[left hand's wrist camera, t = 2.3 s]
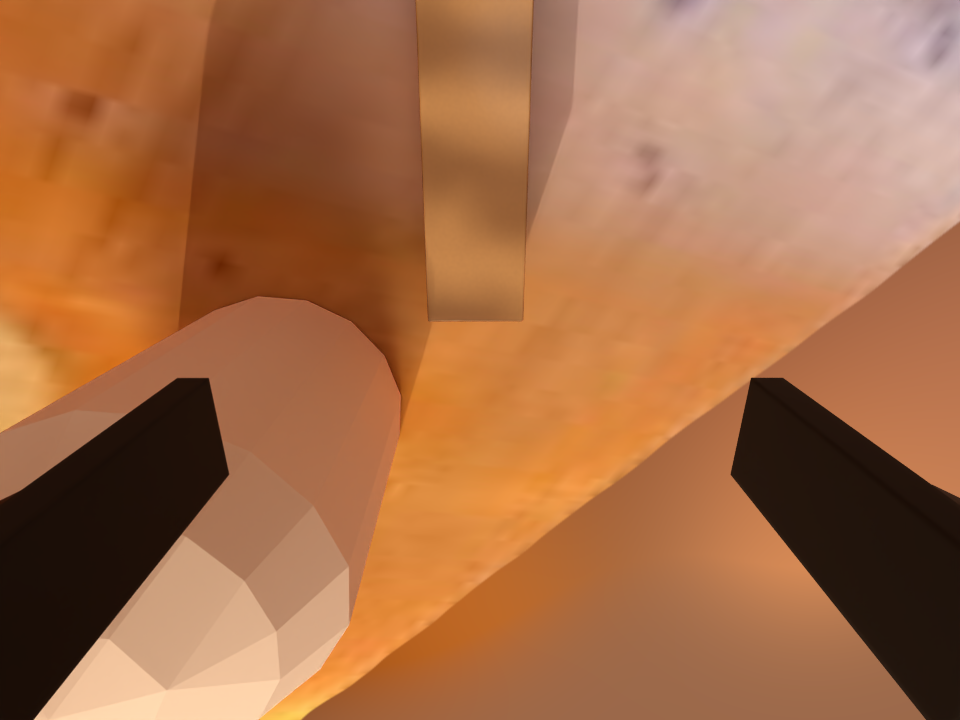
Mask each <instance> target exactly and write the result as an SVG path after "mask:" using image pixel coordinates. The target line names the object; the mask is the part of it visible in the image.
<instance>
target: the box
mask: <svg viewBox="0 0 960 720" xmlns="http://www.w3.org/2000/svg"><path fill="white" fill-rule="evenodd" d="M533 4H534V0H416V25H417V51H418V76H419V102H420V128H421V153H422V179H423V204H424V230H425V256H426V281H427V307H428V321H523V311H524V280H525V249H526V219H527V188H528V157H529V127H530V96H531V65H532V34H533Z"/></svg>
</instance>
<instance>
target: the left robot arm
mask: <svg viewBox="0 0 960 720" xmlns="http://www.w3.org/2000/svg"><path fill="white" fill-rule="evenodd" d="M228 476H229V470H228V466H227V461H226V456H225V451H224V447H223V442H222V437H221V433H220V428H219V423H218V419H217V414H216V409H215V404H214V400H213V395H212V390H211V386H210V381H209V378H176V379H175V380H174V381H172V382H171V383H169V384H168V385H167V386H165V387H164V388H162V389H161V390H160V391H158V392H157V393H155V394H154V395H153V396H151V397H150V398H149V399H147V400H146V401H144V402H143V403H142V404H140V405H139V406H137V407H136V408H135V409H133V410H132V411H130V412H129V413H128V414H126V415H125V416H123V417H122V418H121V419H119V420H118V421H117V422H115V423H114V424H112V425H111V426H110V427H108V428H107V429H105V430H104V431H103V432H101V433H100V434H98V435H97V436H96V437H94V438H93V439H91V440H90V441H89V442H87V443H86V444H85V445H83V446H82V447H80V448H79V449H78V450H76V451H75V452H73V453H72V454H71V455H69V456H68V457H66V458H65V459H64V460H62V461H61V462H59V463H58V464H57V465H55V466H54V467H52V468H51V469H50V470H48V471H47V472H46V473H44V474H43V475H41V476H40V477H39V478H37V479H36V480H34V481H33V482H32V483H30V484H29V485H27V486H26V487H25V488H23V489H22V490H20V491H18V492H16V493H14V494H12V495H10V496H8V497H6V498H4V499H2V500H0V720H34V719H35V718H36V716H37V715H38V714H39V713H40V711H41V710H42V709H43V708H44V706H45V705H46V704H47V703H48V701H49V700H50V699H51V698H52V696H53V695H54V694H55V693H56V691H57V690H58V689H59V688H60V686H61V685H62V684H63V683H64V681H65V680H66V679H67V678H68V676H69V675H70V674H71V672H72V671H73V670H74V669H75V667H76V666H77V665H78V664H79V662H80V661H81V660H82V659H83V657H84V656H85V655H86V654H87V652H88V651H89V650H90V649H91V647H92V646H93V645H94V644H95V642H96V641H97V640H98V639H99V637H100V636H101V635H102V634H103V632H104V631H105V630H106V629H107V627H108V626H109V625H110V624H111V622H112V621H113V620H114V619H115V617H116V616H117V615H118V614H119V612H120V611H121V610H122V609H123V607H124V606H125V605H126V604H127V602H128V601H129V600H130V599H131V597H132V596H133V595H134V594H135V592H136V591H137V590H138V588H139V587H140V586H141V585H142V583H143V582H144V581H145V580H146V578H147V577H148V576H149V575H150V573H151V572H152V571H153V570H154V568H155V567H156V566H157V565H158V563H159V562H160V561H161V560H162V558H163V557H164V556H165V555H166V553H167V552H168V551H169V550H170V548H171V547H172V546H173V545H174V543H175V542H176V541H177V540H178V538H179V537H180V536H181V535H182V533H183V532H184V531H185V530H186V528H187V527H188V526H189V525H190V523H191V522H192V521H193V520H194V518H195V517H196V516H197V515H198V513H199V512H200V511H201V509H202V508H203V507H204V506H205V504H206V503H207V502H208V501H209V499H210V498H211V497H212V496H213V494H214V493H215V492H216V491H217V489H218V488H219V487H220V486H221V484H222V483H223V482H224V481H225V479H226V478H227V477H228ZM731 476H732V477H733V478H734V479H735V481H736V482H737V483H738V484H739V486H740V487H741V488H742V489H743V491H744V492H745V493H746V494H747V496H748V497H749V498H750V499H751V501H752V502H753V503H754V504H755V506H756V507H757V508H758V509H759V511H760V512H761V513H762V515H763V516H764V517H765V518H766V520H767V521H768V522H769V523H770V525H771V526H772V527H773V528H774V530H775V531H776V532H777V533H778V535H779V536H780V537H781V538H782V540H783V541H784V542H785V543H786V545H787V546H788V547H789V548H790V550H791V551H792V552H793V553H794V555H795V556H796V557H797V558H798V560H799V561H800V562H801V563H802V565H803V566H804V567H805V568H806V570H807V571H808V572H809V573H810V575H811V576H812V577H813V578H814V580H815V581H816V582H817V583H818V585H819V586H820V587H821V588H822V590H823V591H824V592H825V593H826V595H827V596H828V597H829V598H830V600H831V601H832V602H833V603H834V605H835V606H836V607H837V608H838V610H839V611H840V612H841V614H842V615H843V616H844V617H845V619H846V620H847V621H848V622H849V624H850V625H851V626H852V627H853V629H854V630H855V631H856V632H857V634H858V635H859V636H860V637H861V639H862V640H863V641H864V642H865V644H866V645H867V646H868V647H869V649H870V650H871V651H872V652H873V654H874V655H875V656H876V657H877V659H878V660H879V661H880V662H881V664H882V665H883V666H884V667H885V669H886V670H887V671H888V672H889V674H890V675H891V676H892V678H893V679H894V680H895V681H896V683H897V684H898V685H899V686H900V688H901V689H902V690H903V691H904V692H905V694H906V695H907V696H908V698H909V699H910V700H911V701H912V703H913V704H914V705H915V706H916V708H917V709H918V710H919V711H920V713H921V714H922V715H923V716H924V718H925V719H926V720H960V498H959V497H957V496H955V495H952V494H950V493H948V492H946V491H944V490H942V489H940V488H938V487H936V486H934V485H931V484H930V483H928V482H927V481H926V480H924V479H923V478H921V477H920V476H919V475H917V474H916V473H914V472H913V471H912V470H910V469H909V468H908V467H906V466H905V465H903V464H902V463H901V462H899V461H898V460H896V459H895V458H893V457H892V456H891V455H889V454H888V453H887V452H885V451H884V450H882V449H881V448H880V447H878V446H877V445H875V444H874V443H873V442H871V441H870V440H869V439H867V438H866V437H864V436H863V435H862V434H860V433H859V432H857V431H856V430H855V429H853V428H852V427H850V426H849V425H848V424H846V423H845V422H843V421H842V420H841V419H839V418H838V417H837V416H835V415H834V414H832V413H831V412H830V411H828V410H827V409H825V408H824V407H823V406H821V405H820V404H818V403H817V402H816V401H814V400H813V399H811V398H810V397H809V396H807V395H806V394H805V393H803V392H802V391H800V390H799V389H798V388H796V387H795V386H793V385H792V384H791V383H789V382H788V381H786V380H785V379H784V378H751V381H750V386H749V390H748V395H747V400H746V404H745V409H744V414H743V419H742V423H741V428H740V433H739V437H738V442H737V447H736V451H735V456H734V461H733V466H732V470H731Z"/></svg>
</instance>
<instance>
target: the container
mask: <svg viewBox="0 0 960 720" xmlns="http://www.w3.org/2000/svg"><path fill="white" fill-rule="evenodd" d="M176 378H209V381H210V386H211V390H212V395H213V400H214V404H215V409H216V414H217V419H218V423H219V428H220V433H221V437H222V442H223V447H224V451H225V456H226V461H227V466H228V470H229V476H228V477H227V478H226V479H225V481H224V482H223V483H222V484H221V486H220V487H219V488H218V489H217V491H216V492H215V493H214V494H213V496H212V497H211V498H210V499H209V501H208V502H207V503H206V504H205V506H204V507H203V508H202V509H201V511H200V512H199V513H198V515H197V516H196V517H195V518H194V520H193V521H192V522H191V523H190V525H189V526H188V527H187V528H186V530H185V531H184V532H183V533H182V535H181V536H180V537H179V538H178V540H177V541H176V542H175V543H174V545H173V546H172V547H171V548H170V550H169V551H168V552H167V553H166V555H165V556H164V557H163V558H162V560H161V561H160V562H159V563H158V565H157V566H156V567H155V568H154V570H153V571H152V572H151V573H150V575H149V576H148V577H147V578H146V580H145V581H144V582H143V583H142V585H141V586H140V587H139V588H138V590H137V591H136V592H135V594H134V595H133V596H132V597H131V599H130V600H129V601H128V602H127V604H126V605H125V606H124V607H123V609H122V610H121V611H120V612H119V614H118V615H117V616H116V617H115V619H114V620H113V621H112V622H111V624H110V625H109V626H108V627H107V629H106V630H105V631H104V632H103V634H102V635H101V636H100V637H99V639H98V640H97V641H96V642H95V644H94V645H93V646H92V647H91V649H90V650H89V651H88V652H87V654H86V655H85V656H84V657H83V659H82V660H81V661H80V662H79V664H78V665H77V666H76V667H75V669H74V670H73V671H72V672H71V674H70V675H69V676H68V678H67V679H66V680H65V681H64V683H63V684H62V685H61V686H60V688H59V689H58V690H57V691H56V693H55V694H54V695H53V696H52V698H51V699H50V700H49V701H48V703H47V704H46V705H45V706H44V708H43V709H42V710H41V711H40V713H39V714H38V715H37V716H36V718H35V719H34V720H258V719H259V718H261V717H262V716H263V715H264V714H266V713H267V712H268V711H269V710H271V709H272V708H273V707H274V706H276V705H277V704H278V703H279V702H280V701H282V700H283V699H284V698H285V697H287V696H288V695H289V694H290V693H292V692H293V691H294V690H295V689H296V688H298V687H299V686H300V685H301V684H303V683H304V682H305V681H306V680H308V679H309V678H310V677H311V676H313V675H314V674H315V673H316V672H317V671H319V670H320V669H321V667H322V666H323V664H324V662H325V661H326V659H327V658H328V656H329V655H330V653H331V652H332V650H333V649H334V647H335V646H336V644H337V642H338V641H339V639H340V638H341V636H342V635H343V633H344V632H345V630H346V629H347V627H348V626H349V623H350V620H351V616H352V612H353V608H354V605H355V601H356V597H357V593H358V590H359V586H360V582H361V578H362V574H363V571H364V567H365V563H366V559H367V556H368V552H369V548H370V544H371V540H372V537H373V533H374V529H375V525H376V522H377V518H378V514H379V510H380V506H381V503H382V499H383V495H384V491H385V488H386V484H387V480H388V476H389V473H390V469H391V465H392V461H393V457H394V454H395V450H396V446H397V442H398V439H399V435H400V407H401V394H400V392H399V390H398V387H397V385H396V382H395V380H394V377H393V375H392V373H391V370H390V368H389V365H388V363H387V360H386V358H385V356H384V354H383V353H382V352H381V351H380V350H379V349H378V348H377V347H376V346H375V345H374V344H373V343H372V342H371V341H370V340H369V339H368V338H367V337H366V336H365V335H364V334H363V333H362V332H361V331H360V330H359V329H358V328H357V327H356V326H355V325H354V324H353V323H352V322H351V321H349V320H347V319H345V318H343V317H341V316H339V315H336V314H334V313H332V312H330V311H328V310H326V309H324V308H322V307H320V306H318V305H315V304H313V303H311V302H309V301H307V300H297V299H285V298H273V297H261V296H257V297H254V298H251V299H248V300H245V301H241V302H238V303H235V304H232V305H229V306H226V307H223V308H220V309H217V310H214V311H212V312H210V313H209V314H207V315H205V316H203V317H202V318H200V319H198V320H196V321H195V322H193V323H191V324H190V325H188V326H186V327H184V328H183V329H181V330H179V331H177V332H176V333H174V334H172V335H170V336H169V337H167V338H165V339H163V340H162V341H160V342H158V343H156V344H155V345H153V346H151V347H149V348H148V349H146V350H144V351H142V352H141V353H139V354H137V355H135V356H134V357H132V358H130V359H128V360H127V361H125V362H123V363H122V364H120V365H118V366H116V367H115V368H113V369H111V370H109V371H108V372H106V373H104V374H102V375H101V376H99V377H97V378H95V379H94V380H92V381H90V382H88V383H87V384H85V385H83V386H81V387H80V388H78V389H76V390H74V391H73V392H71V393H69V394H67V395H66V396H64V397H62V398H60V399H59V400H57V401H55V402H53V403H52V404H50V405H48V406H47V407H45V408H43V409H41V410H40V411H38V412H36V413H34V414H33V415H31V416H29V417H27V418H26V419H24V420H22V421H20V422H19V423H17V424H15V425H13V426H12V427H10V428H8V429H6V430H5V431H3V432H1V433H0V500H2V499H4V498H6V497H8V496H10V495H12V494H14V493H16V492H18V491H20V490H22V489H23V488H25V487H26V486H27V485H29V484H30V483H32V482H33V481H34V480H36V479H37V478H39V477H40V476H41V475H43V474H44V473H46V472H47V471H48V470H50V469H51V468H52V467H54V466H55V465H57V464H58V463H59V462H61V461H62V460H64V459H65V458H66V457H68V456H69V455H71V454H72V453H73V452H75V451H76V450H78V449H79V448H80V447H82V446H83V445H85V444H86V443H87V442H89V441H90V440H91V439H93V438H94V437H96V436H97V435H98V434H100V433H101V432H103V431H104V430H105V429H107V428H108V427H110V426H111V425H112V424H114V423H115V422H117V421H118V420H119V419H121V418H122V417H123V416H125V415H126V414H128V413H129V412H130V411H132V410H133V409H135V408H136V407H137V406H139V405H140V404H142V403H143V402H144V401H146V400H147V399H149V398H150V397H151V396H153V395H154V394H155V393H157V392H158V391H160V390H161V389H162V388H164V387H165V386H167V385H168V384H169V383H171V382H172V381H174V380H175V379H176Z"/></svg>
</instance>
